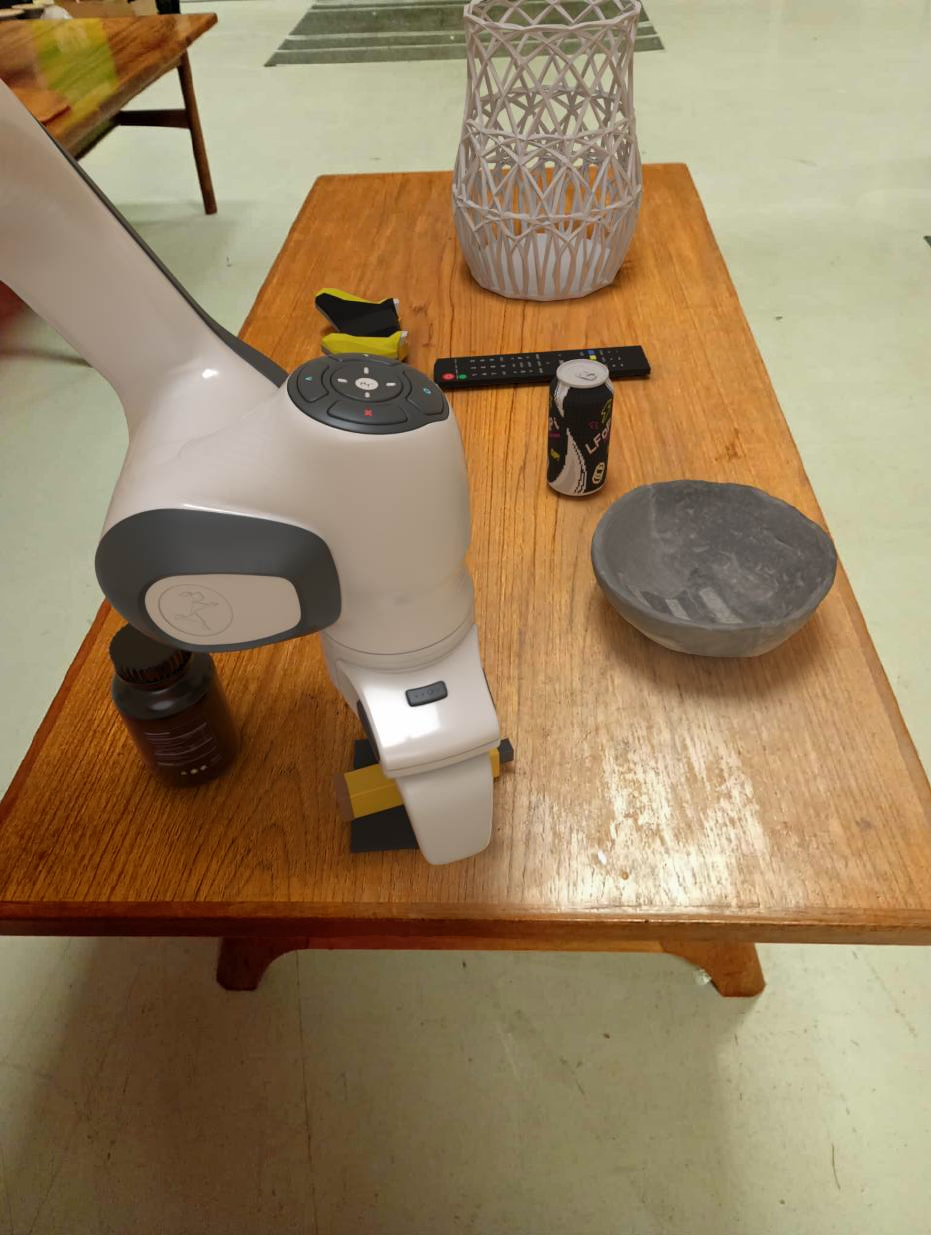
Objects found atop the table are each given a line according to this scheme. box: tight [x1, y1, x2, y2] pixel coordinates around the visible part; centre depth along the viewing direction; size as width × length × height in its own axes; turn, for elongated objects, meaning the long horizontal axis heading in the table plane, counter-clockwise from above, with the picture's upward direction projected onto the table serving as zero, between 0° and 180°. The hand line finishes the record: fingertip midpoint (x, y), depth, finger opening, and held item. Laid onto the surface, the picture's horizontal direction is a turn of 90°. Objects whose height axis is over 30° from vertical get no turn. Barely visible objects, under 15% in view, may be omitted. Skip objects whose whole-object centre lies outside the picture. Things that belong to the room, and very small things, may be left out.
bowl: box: [590, 478, 838, 658], centre depth 70 cm, size 18×18×8 cm
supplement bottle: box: [108, 622, 242, 790], centre depth 60 cm, size 7×7×12 cm
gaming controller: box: [314, 287, 410, 362], centre depth 104 cm, size 15×6×10 cm
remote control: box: [432, 344, 652, 389], centre depth 100 cm, size 5×24×1 cm, turn 94°
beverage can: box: [545, 359, 615, 497], centre depth 81 cm, size 6×6×12 cm
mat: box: [350, 738, 420, 854], centre depth 61 cm, size 9×9×1 cm
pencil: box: [331, 737, 515, 823], centre depth 60 cm, size 12×2×3 cm, turn 108°
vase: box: [451, 0, 643, 302], centre depth 110 cm, size 24×24×30 cm
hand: (417, 775), depth 60 cm, fingers open, 3 cm apart
